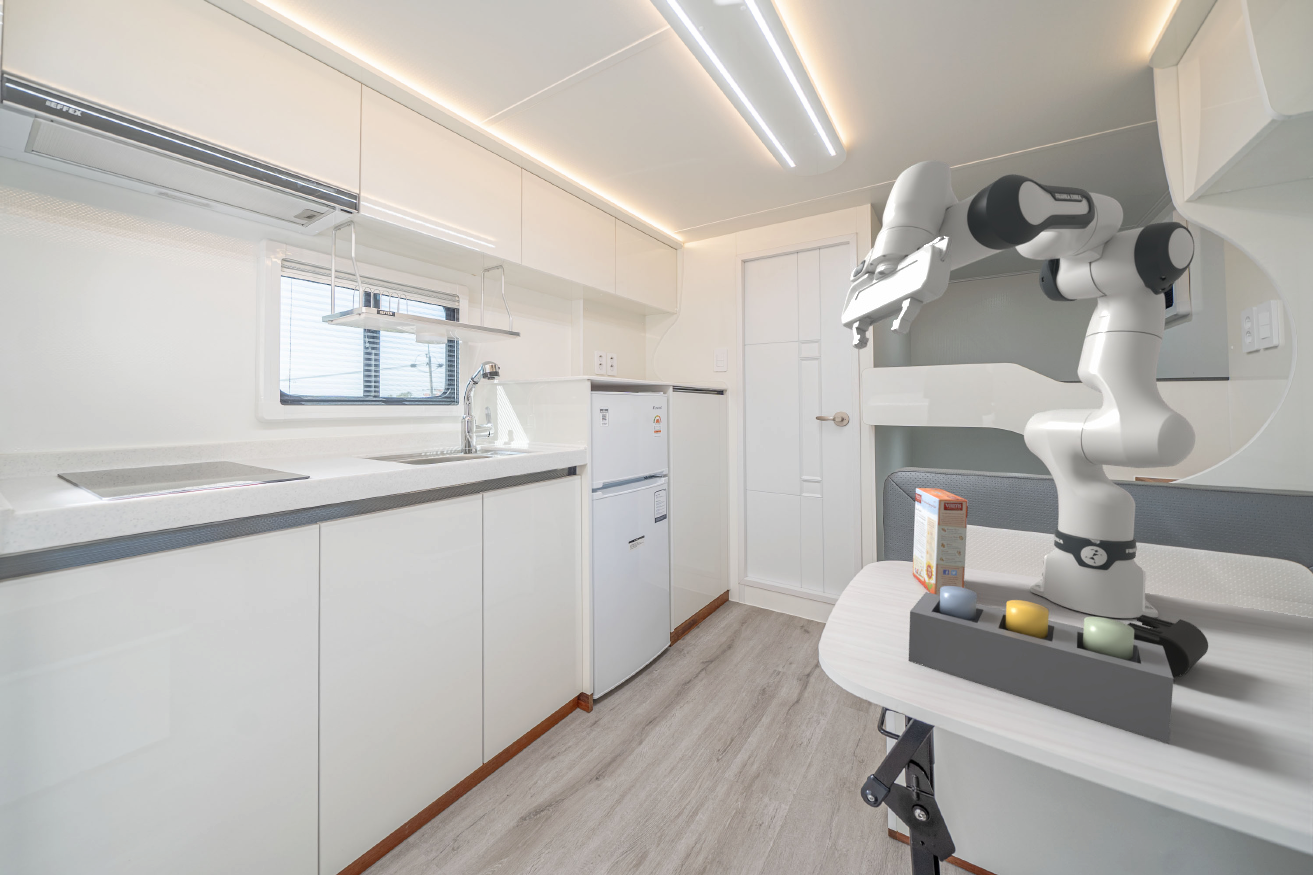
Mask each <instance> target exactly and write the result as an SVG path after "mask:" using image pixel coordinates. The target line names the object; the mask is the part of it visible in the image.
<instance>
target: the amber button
mask: <svg viewBox="0 0 1313 875" xmlns="http://www.w3.org/2000/svg"><path fill="white" fill-rule="evenodd" d="M1005 606H1006V609H1005V610H1006V628H1007V629H1008V630H1009V631H1011V632H1015V633H1019V634H1023V635H1027V636H1031V637H1035V638H1039V639H1043V638H1046V637H1047V636H1048V620H1049V618H1050V617H1049V616H1050V615H1049V614H1050V612H1049V609H1048V608H1046V606H1043V605H1041V604H1039V603H1035V602H1031V601H1026V600H1021V599H1019V600H1018V599H1012V600H1007V601H1006V605H1005Z"/></svg>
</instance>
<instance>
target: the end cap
mask: <svg viewBox="0 0 1313 875" xmlns="http://www.w3.org/2000/svg"><path fill="white" fill-rule="evenodd" d="M1136 622H1139V623H1141V624H1136V623H1133V622H1128V623H1127V625H1129V626H1130V627H1132V628H1133V629H1134V640H1138V641H1143V642H1147V643H1152V644H1156V645H1160V646H1163V648H1164V651H1165V654H1166V657H1167V660H1168V663H1169V666H1170V670H1171V673H1172V676H1173V678H1178V677H1181V676H1183V675H1185V674H1186V673H1187V672H1188V671H1190V669H1192V667H1194V665H1196V663H1197V662H1198V661H1200V660H1201V659H1202V658H1203V657H1204V656H1205V655H1206V654H1207V652H1208V649H1209V642H1208V639H1207V637H1206V635H1205V634H1204V632H1203V631H1201V629H1200V628H1199V627H1197V626H1196V625H1194V624H1192V623H1191V622H1189V621H1187V620H1184V619H1179V620H1177V621H1176V622H1171V621H1168V620H1164V619H1160V618H1158V617H1150V616H1146V615H1141V616H1139V617H1136Z"/></svg>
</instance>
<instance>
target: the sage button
mask: <svg viewBox="0 0 1313 875" xmlns="http://www.w3.org/2000/svg"><path fill="white" fill-rule="evenodd" d="M1127 624H1128V623H1127ZM1127 624H1126V623H1124V622H1121V621H1118V620H1115V619H1112V618H1109V617H1103V616H1087V617H1084V619H1083V628H1084V632H1083V646H1084V647H1085V648H1086V649H1087V650H1089V651H1091V652H1095V653H1099V654H1103V655H1107V656H1111V657H1115V658H1119V659H1123V660H1130V659H1132V658H1133V643H1134V629H1133V628H1132V627H1130V626H1129V625H1127Z"/></svg>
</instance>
